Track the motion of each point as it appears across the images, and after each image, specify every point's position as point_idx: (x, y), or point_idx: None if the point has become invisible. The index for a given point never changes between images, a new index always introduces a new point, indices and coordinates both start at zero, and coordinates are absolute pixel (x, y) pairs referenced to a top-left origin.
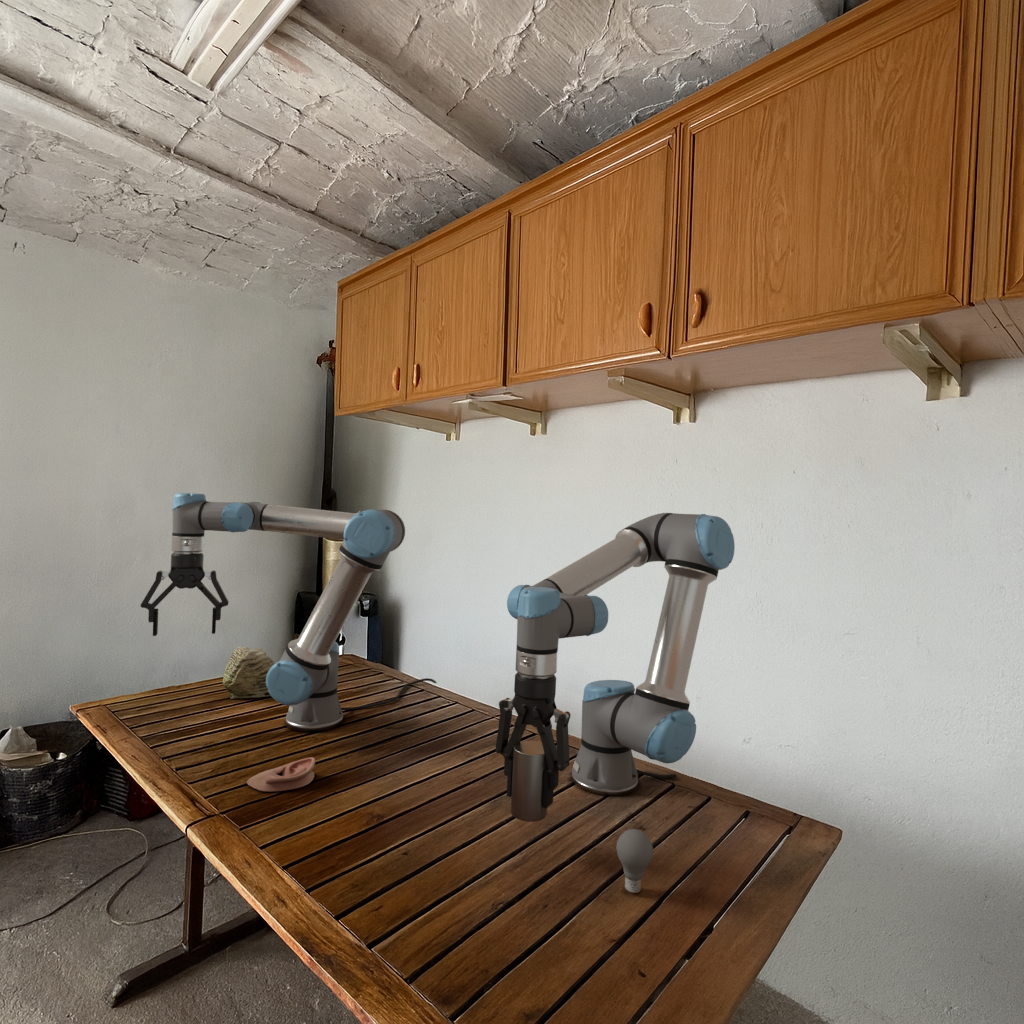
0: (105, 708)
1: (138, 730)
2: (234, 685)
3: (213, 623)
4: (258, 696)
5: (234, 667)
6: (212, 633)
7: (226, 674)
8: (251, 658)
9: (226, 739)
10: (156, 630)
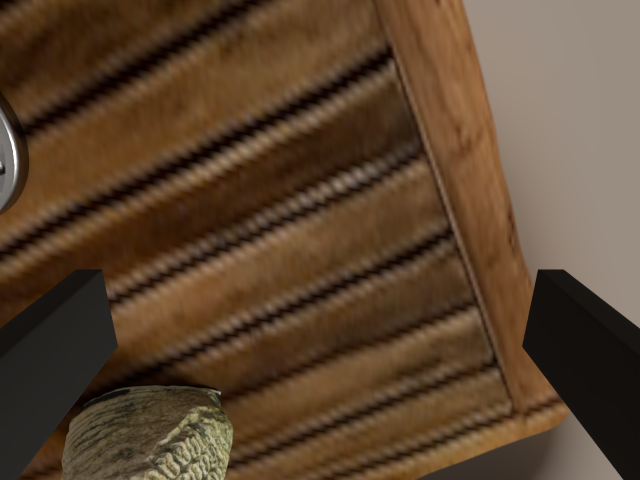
0: (513, 390)
1: (431, 209)
2: (196, 403)
3: (32, 319)
4: (145, 386)
5: (181, 453)
6: (95, 271)
7: (217, 450)
8: (113, 478)
9: (186, 62)
10: (557, 306)
